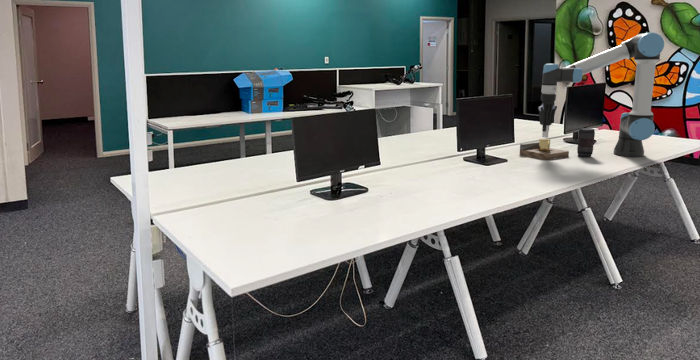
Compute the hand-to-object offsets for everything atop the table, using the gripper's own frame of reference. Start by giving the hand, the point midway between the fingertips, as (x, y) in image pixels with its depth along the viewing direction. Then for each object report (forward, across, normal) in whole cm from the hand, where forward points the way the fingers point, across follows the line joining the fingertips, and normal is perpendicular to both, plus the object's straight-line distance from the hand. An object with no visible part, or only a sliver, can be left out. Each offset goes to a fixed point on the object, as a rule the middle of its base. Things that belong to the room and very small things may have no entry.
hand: (545, 137), depth 302 cm
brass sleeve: (+10, 0, 0) cm, 10 cm away
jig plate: (+10, 0, 0) cm, 10 cm away
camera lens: (+10, +17, -13) cm, 24 cm away
